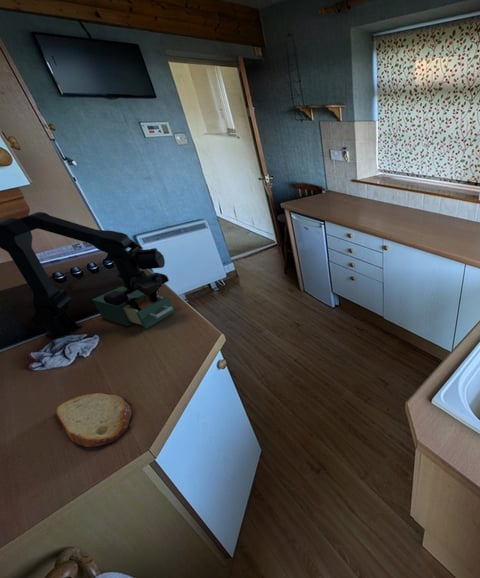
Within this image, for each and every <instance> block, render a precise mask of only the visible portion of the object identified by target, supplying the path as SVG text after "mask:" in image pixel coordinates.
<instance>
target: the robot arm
mask: <svg viewBox="0 0 480 578" xmlns="http://www.w3.org/2000/svg"><path fill="white" fill-rule="evenodd" d="M35 230H42V231H45V232H49V233H52V234H56V235H60V236H62V237H65V238H69V239H73V240H76V241H80V242H83V243H86V244H89V245H91V246H93V247H94V248H96V249H97V250H99V251H101V252H103V253H106V257H105V258H104V259H103V261H104V262H113V263H114V265H115V268H116V269H117V272H118V273H117V276H118V278H121V279H122V282H123V284H122V286H124V287H125V288H127V290H125V291H122V292H119V291H116V290H115V289H114V290H115V291H113V290H112V291H113V292H111V293H108V292H107V293H108V294H106V293H105V294H106V295H104V294H103V295H104V301H105V303H108V304H111V305H115V306H118V305H121V304H123V303H127V304H128V305H130V306H131V307H132V308H134V309H136V310H138V311H140V308H139V306H138V304H137V303H136V298H134V297H132V295H131V294H132V293H134V292H137V291H140V292H142V293H143V294H145V295H148V296H149V297H150V299H151V301H152V302H154V303H155V302H156V301H157V296H158V291H159V289H160V288H161V287H163V285H164V284H166V283H168V282H170V279H169V277H168V275H167V274H164V273H159V272H153V273H151V274H149V275H147V274H146V272H145V271H144V270H152V269H163V268H164V267H165V263H166V261H165V257H164V254H162V252H161V251H158V248H157V247H153V248H148V249H147V248H146V249H143V246H141V245H140V244H138V243H137V242H135V241H134V240H132V239H131V238H130V236H129V235H128V234H126V233H124V232H119V231H115V230H107V229H105V230H103V229H96V228H93V227H89V226H85V225H83V224H79V223H76V222H73V221H69V220H66V219H63V218H60V217H57V216H54V215H50V214H49V213H46V212H43V211H37V212H34V213H32V214H29V215H25V216H23V217H20V218H16V217H6V218H3V219H1V220H0V249H2V250H4V251H5V252H7V253H8V255H9V256H10V258H11V260H12V261H13V263H14V264H15V266H16V268H17V269H18V271H19V272H20V274H21V276H22V277H23V279H24V281H25V282H26V283H27V285H28V287H29V289H30V290H31V292H32V302H31V303H32V306H33V309H34V311H35V313H34V314H33V315H32V317H31V319H30V322H31V323H33V324H34V325H36V326H39V325H41V326H42V327H43V329H44V331H45V332H44V334H45V335H46V336H49V337H53V338H55V339H58V338H61V337H62V336H65V335H66V334H68V333H70V332H73V331H74V330H77V329H78V328H79V325H77V323H76V321H75V320H74V318H73V316H72V315H71V314H68V313H67V312H66V311H68V310H69V305H70V304H71V301H72V298H71V297H70V296H69V294H68V291H67V290H66V289H59V288H57V287H55V285H54V283H53V282H52V281H51V279H50V277H49V276H48V273H47V272H46V270H45V268H44V267H43V266H44V265H42V263H41V261H40V259H39V258H38V256H37V254H36V253H35V251H34V249H33V234H32V231H35ZM128 249H129V250H128ZM127 250H128V251H127Z"/></svg>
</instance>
